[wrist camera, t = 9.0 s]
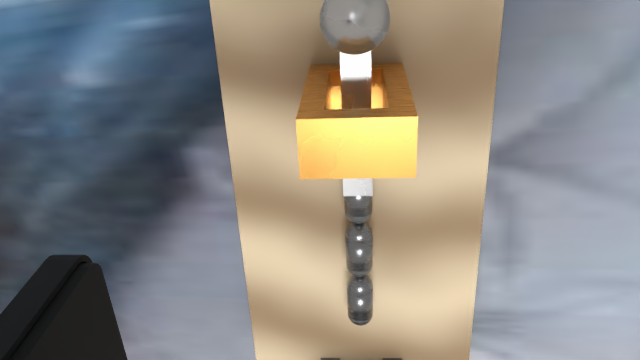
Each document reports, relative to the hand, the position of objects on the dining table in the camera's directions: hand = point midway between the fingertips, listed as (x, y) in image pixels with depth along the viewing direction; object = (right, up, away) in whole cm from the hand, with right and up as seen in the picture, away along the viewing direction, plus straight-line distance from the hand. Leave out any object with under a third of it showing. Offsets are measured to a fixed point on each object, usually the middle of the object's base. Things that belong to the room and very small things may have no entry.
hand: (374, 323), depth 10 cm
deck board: (+1, +1, +17) cm, 17 cm away
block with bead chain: (+1, +1, +15) cm, 15 cm away
